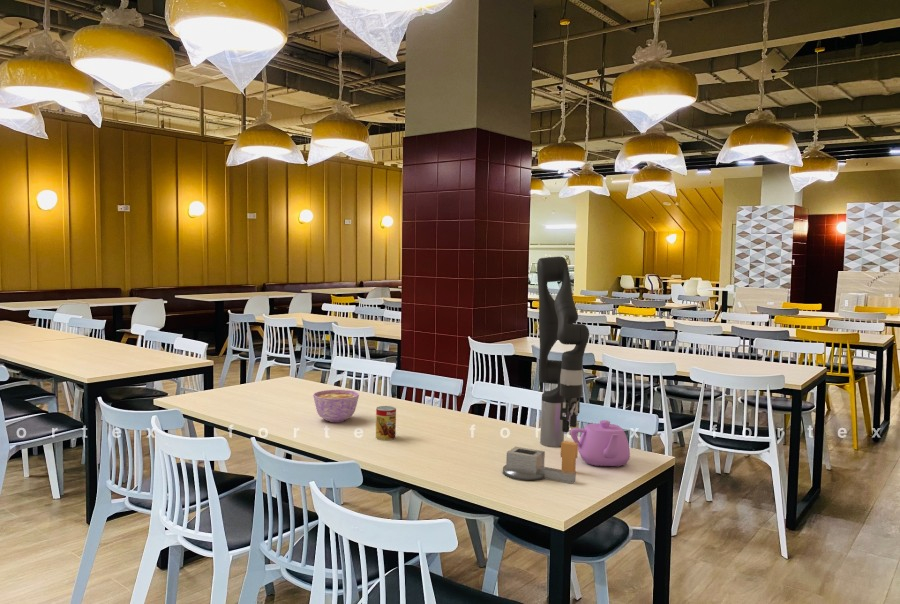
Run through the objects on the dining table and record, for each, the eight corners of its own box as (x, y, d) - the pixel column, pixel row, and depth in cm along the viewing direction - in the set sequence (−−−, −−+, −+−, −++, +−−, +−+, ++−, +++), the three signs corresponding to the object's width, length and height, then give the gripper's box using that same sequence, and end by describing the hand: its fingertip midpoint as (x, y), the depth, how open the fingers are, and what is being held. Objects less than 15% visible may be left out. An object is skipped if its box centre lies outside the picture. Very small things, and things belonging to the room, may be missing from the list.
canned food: (392, 441, 252) (392, 410, 252) (373, 439, 254) (373, 409, 253) (397, 435, 260) (398, 406, 259) (379, 434, 262) (379, 405, 261)
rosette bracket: (512, 464, 227) (513, 443, 226) (580, 476, 216) (581, 454, 215) (495, 475, 214) (496, 453, 213) (567, 489, 202) (568, 466, 202)
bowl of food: (367, 418, 287) (368, 393, 287) (340, 428, 270) (340, 400, 269) (332, 412, 297) (332, 388, 296) (303, 421, 279) (303, 395, 278)
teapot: (564, 454, 240) (565, 415, 239) (619, 455, 241) (621, 415, 240) (578, 474, 217) (580, 430, 216) (640, 475, 218) (642, 431, 217)
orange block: (562, 469, 223) (563, 440, 222) (576, 471, 220) (577, 443, 220) (560, 471, 220) (561, 442, 219) (574, 474, 218) (575, 445, 217)
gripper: (567, 378, 226) (565, 423, 227) (553, 384, 214) (552, 432, 215) (587, 380, 223) (586, 426, 224) (575, 386, 210) (573, 435, 211)
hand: (569, 429), depth 219 cm, fingers open, 8 cm apart
